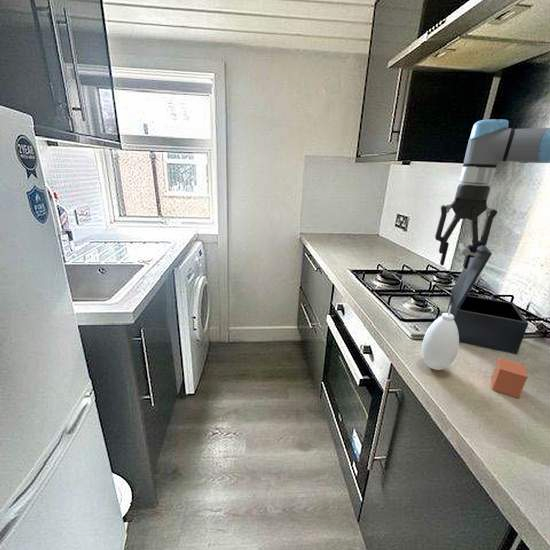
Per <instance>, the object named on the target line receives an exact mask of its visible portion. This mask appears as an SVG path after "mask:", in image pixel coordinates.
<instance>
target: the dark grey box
mask: <svg viewBox="0 0 550 550" xmlns="http://www.w3.org/2000/svg"><path fill="white" fill-rule="evenodd" d="M450 305H451V310H450V314H452V315H453V316H454V319H453V320H454V321H455V323H456V325H457V329H458V334H459V343H463V344H468V345H472V346H477V347H482V348H486V349H491V350H495V351H500V352H505V353H509V354H513V355H518V352H519V351H520V347H521V344H522V342H523V339H524V337H525V334H526V332H527V329H528V326H529V322H528V321H527V318H525V316H524V314H522V312H521V311H520V309H519V308H518V306H517V305H516V304H515V302H511V301H506V300H499V299H493V298H487V297H482V296H475V295H470V294H468V295H467V297H466V299H465V300H464V302H463V304H462V305H461V307H460V309H457V308H456V305H455V302H454V299H453V295H452V294H450V297H449V303H448V306H447V310H446V313H448V310H449V307H450Z"/></svg>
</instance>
